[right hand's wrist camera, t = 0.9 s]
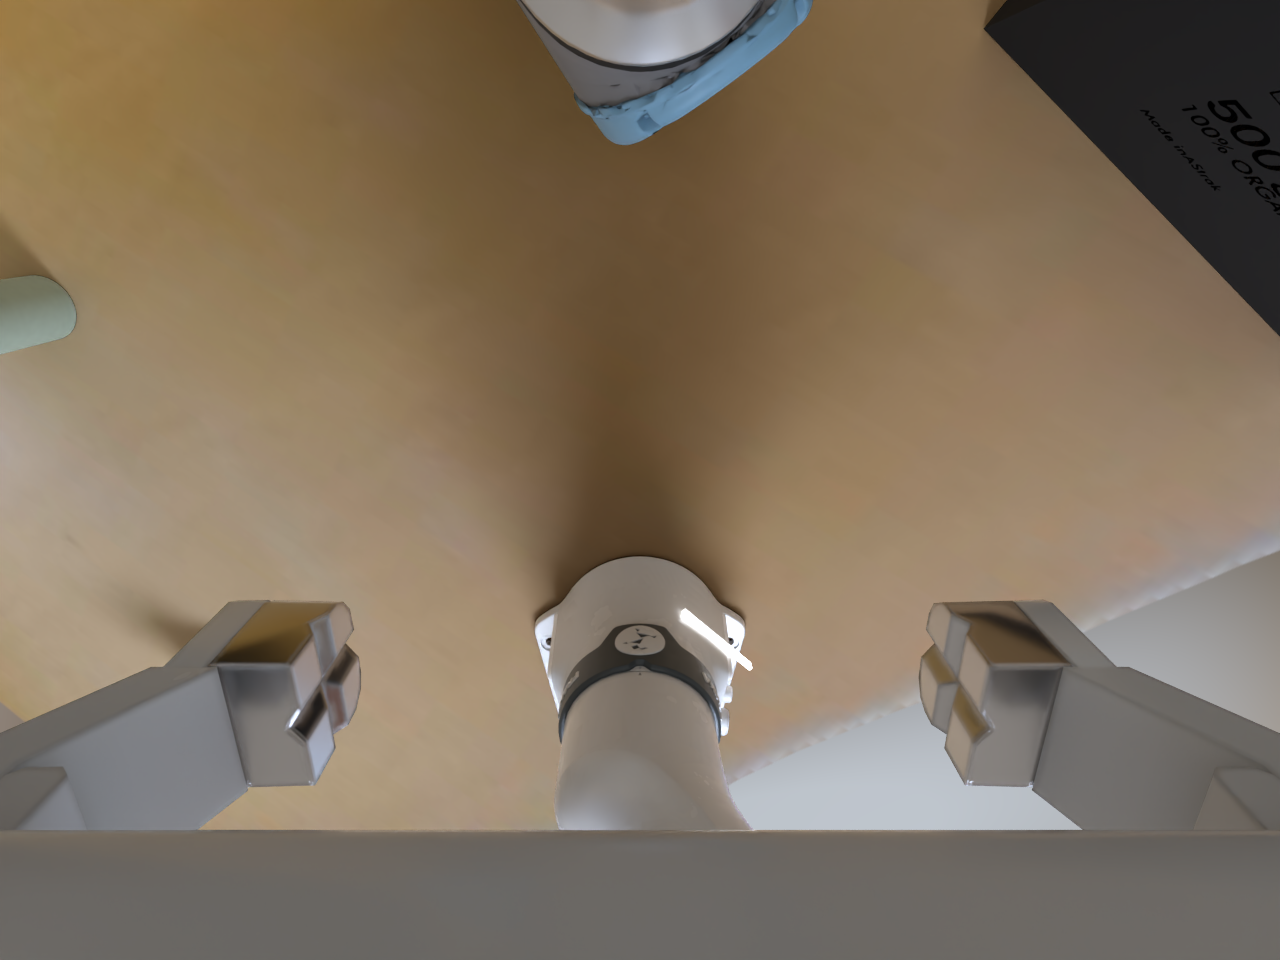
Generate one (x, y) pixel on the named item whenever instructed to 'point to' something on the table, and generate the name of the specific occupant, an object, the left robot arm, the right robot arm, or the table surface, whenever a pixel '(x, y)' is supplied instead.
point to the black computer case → (1174, 113)
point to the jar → (33, 312)
